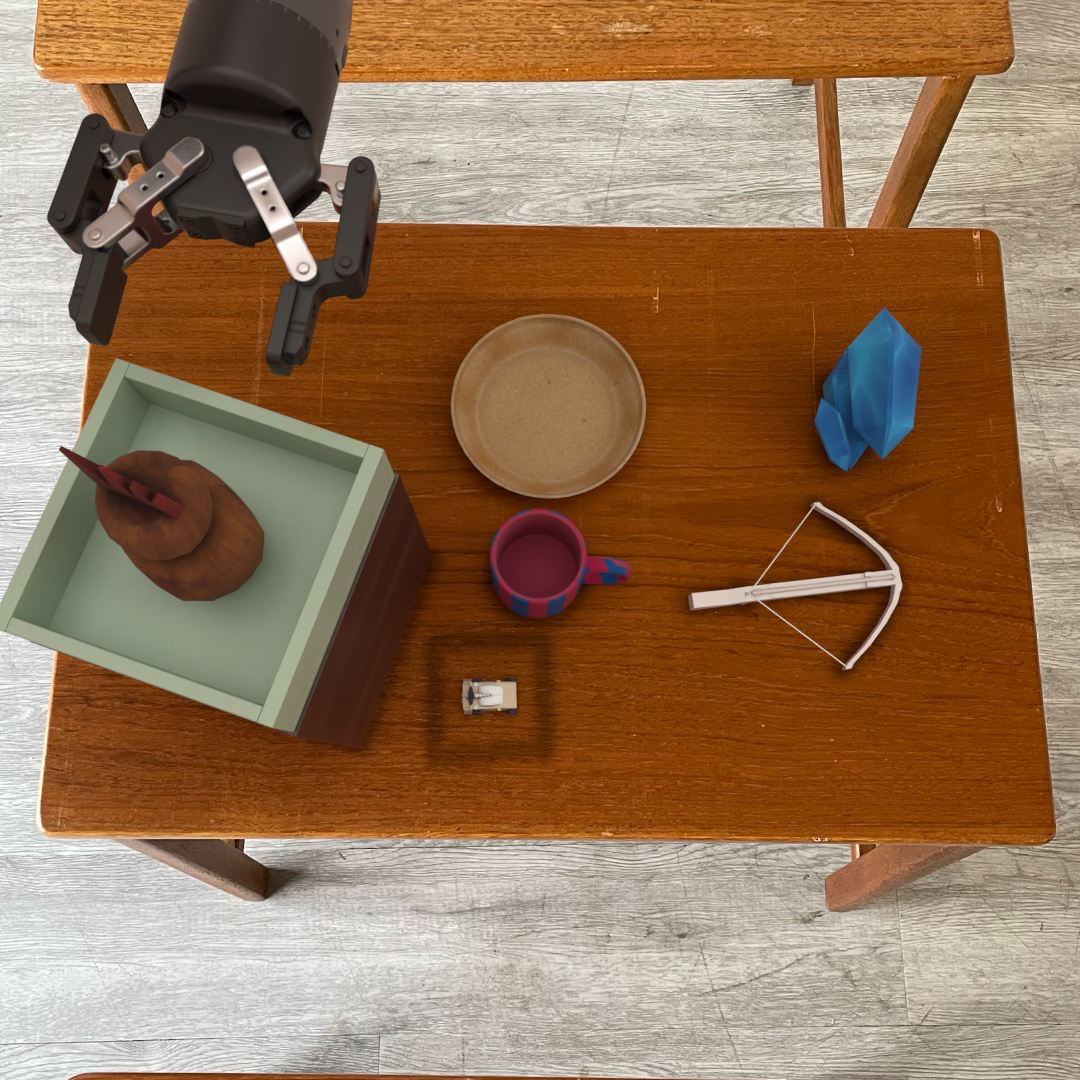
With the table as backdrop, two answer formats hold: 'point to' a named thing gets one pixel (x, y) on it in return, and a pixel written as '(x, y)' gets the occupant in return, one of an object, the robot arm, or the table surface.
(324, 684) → the plinth
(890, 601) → the crossbow
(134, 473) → the wooden figurine
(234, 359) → the table surface
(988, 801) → the table surface
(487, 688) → the toy car
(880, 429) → the crystal
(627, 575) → the cup
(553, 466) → the plant saucer
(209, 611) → the bin
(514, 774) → the table surface
